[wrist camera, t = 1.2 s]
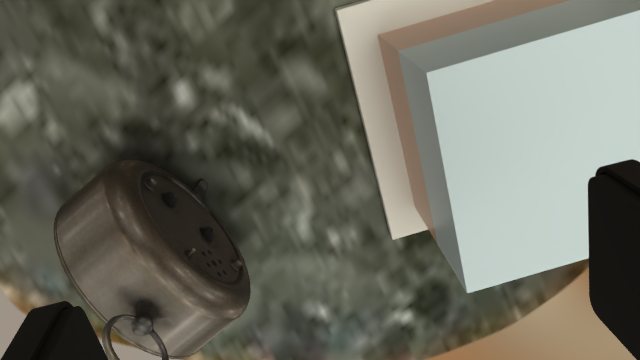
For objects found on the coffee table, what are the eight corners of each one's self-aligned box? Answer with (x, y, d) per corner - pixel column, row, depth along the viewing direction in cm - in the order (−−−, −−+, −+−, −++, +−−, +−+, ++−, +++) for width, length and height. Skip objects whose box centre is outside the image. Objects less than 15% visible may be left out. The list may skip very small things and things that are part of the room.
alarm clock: (86, 167, 35) (-34, 335, 20) (147, 113, 34) (69, 249, 19) (207, 274, 39) (180, 479, 24) (264, 229, 38) (273, 413, 23)
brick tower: (334, 8, 33) (371, 40, 23) (593, -68, 33) (744, -70, 23) (389, 232, 39) (436, 333, 29) (604, 169, 39) (725, 249, 29)
